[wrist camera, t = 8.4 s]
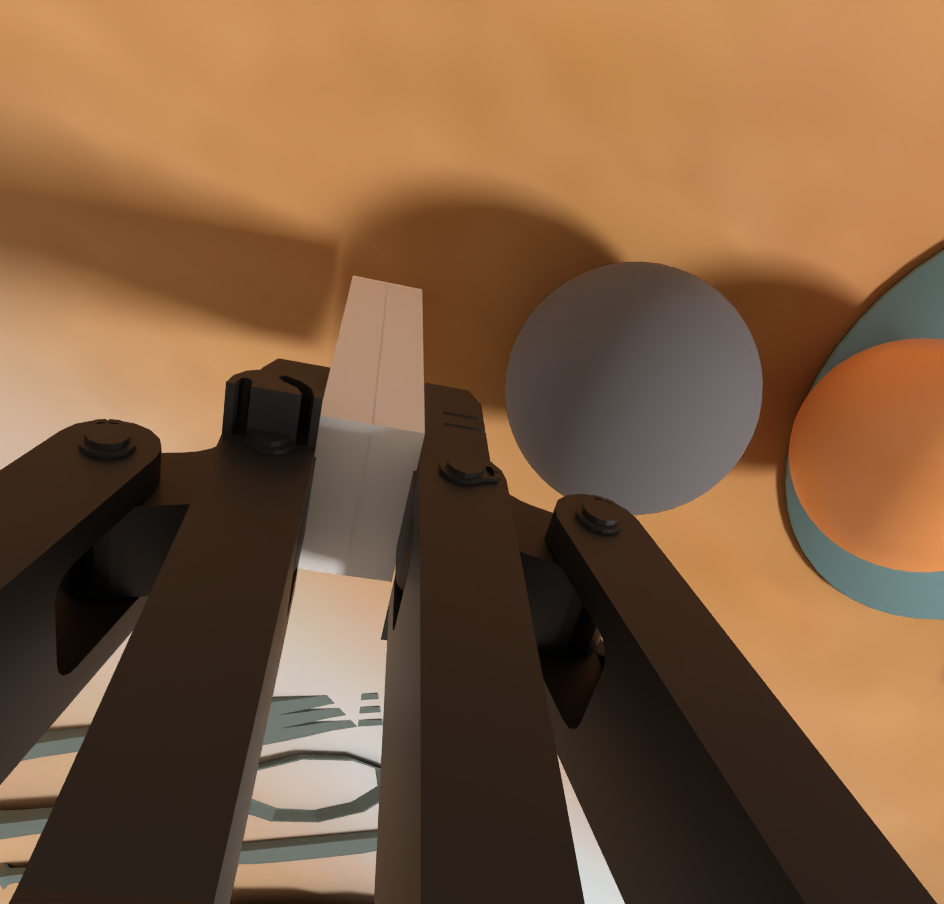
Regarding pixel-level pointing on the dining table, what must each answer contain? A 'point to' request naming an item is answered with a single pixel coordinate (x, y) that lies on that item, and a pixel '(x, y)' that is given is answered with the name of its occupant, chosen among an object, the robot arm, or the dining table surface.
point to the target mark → (892, 591)
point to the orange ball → (877, 455)
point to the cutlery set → (283, 724)
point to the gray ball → (634, 386)
